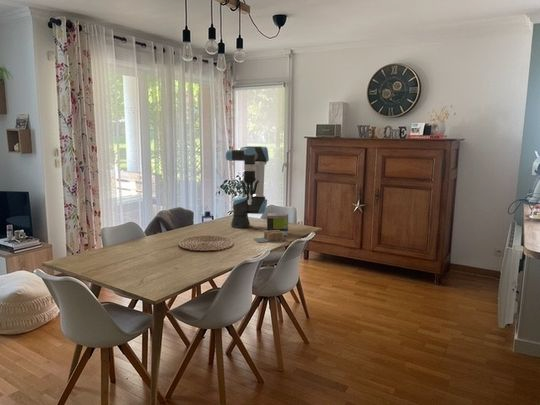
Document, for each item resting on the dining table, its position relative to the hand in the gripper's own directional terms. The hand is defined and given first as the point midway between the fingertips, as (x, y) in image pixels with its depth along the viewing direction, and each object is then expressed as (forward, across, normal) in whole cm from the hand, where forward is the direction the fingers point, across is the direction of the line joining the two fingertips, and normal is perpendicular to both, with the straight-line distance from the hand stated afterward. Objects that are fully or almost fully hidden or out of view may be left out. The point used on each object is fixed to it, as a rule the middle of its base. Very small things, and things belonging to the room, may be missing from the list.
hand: (249, 204), depth 275 cm
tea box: (+25, +24, +6) cm, 35 cm away
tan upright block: (+21, +10, -8) cm, 25 cm away
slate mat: (+24, +12, -8) cm, 28 cm away
